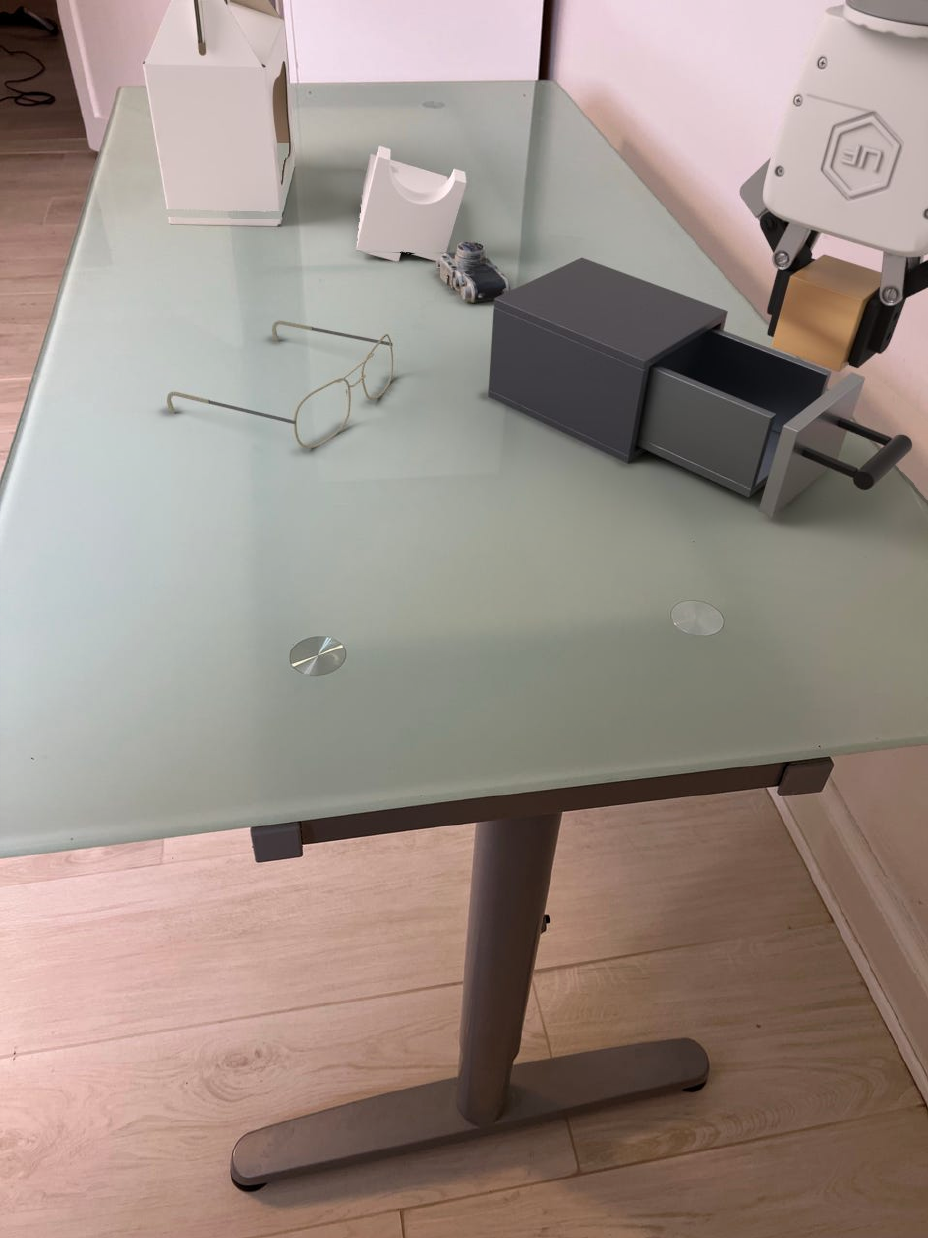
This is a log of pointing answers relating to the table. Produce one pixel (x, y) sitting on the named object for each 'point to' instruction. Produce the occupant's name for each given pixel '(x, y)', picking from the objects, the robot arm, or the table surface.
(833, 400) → the pull-out drawer
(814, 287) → the block
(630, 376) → the cabinet
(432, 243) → the white notched cradle
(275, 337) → the eyeglasses
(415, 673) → the table surface
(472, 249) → the camera
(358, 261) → the table surface
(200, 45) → the gable box
